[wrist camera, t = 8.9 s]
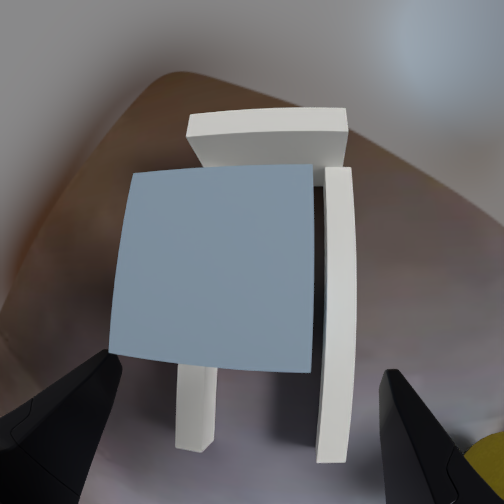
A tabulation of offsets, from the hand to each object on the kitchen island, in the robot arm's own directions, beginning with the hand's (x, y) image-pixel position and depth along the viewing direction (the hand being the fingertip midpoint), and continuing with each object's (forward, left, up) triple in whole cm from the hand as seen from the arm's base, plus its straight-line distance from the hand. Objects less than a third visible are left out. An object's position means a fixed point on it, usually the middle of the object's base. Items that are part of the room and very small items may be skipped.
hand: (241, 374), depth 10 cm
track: (+2, +1, -9) cm, 9 cm away
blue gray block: (+2, +1, -9) cm, 9 cm away
